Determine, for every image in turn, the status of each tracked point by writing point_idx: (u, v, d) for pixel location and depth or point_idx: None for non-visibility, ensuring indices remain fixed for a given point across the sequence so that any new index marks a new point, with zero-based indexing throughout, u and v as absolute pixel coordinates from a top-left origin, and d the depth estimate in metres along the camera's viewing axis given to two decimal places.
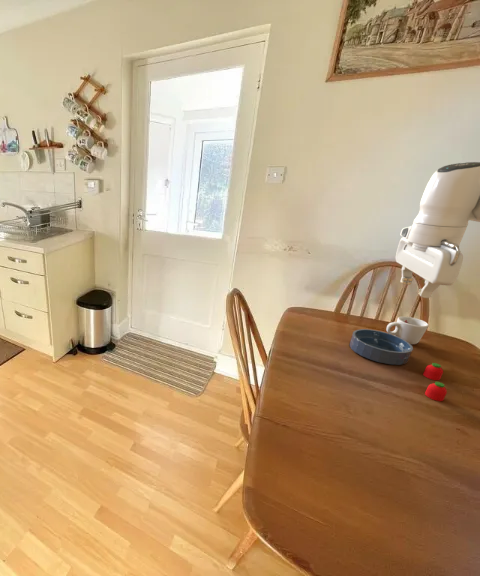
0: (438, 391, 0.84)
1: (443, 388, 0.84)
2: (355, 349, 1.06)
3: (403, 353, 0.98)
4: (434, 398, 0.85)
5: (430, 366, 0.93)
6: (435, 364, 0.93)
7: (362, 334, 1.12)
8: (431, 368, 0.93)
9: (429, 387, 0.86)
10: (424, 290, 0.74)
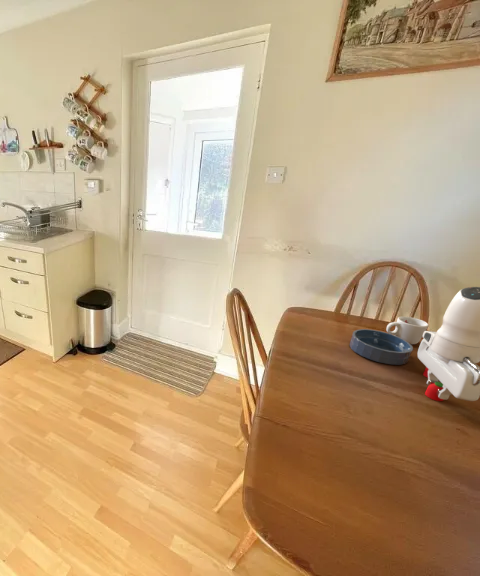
0: None
1: (443, 388, 0.84)
2: (355, 349, 1.06)
3: (403, 353, 0.98)
4: (434, 398, 0.85)
5: None
6: None
7: (362, 334, 1.12)
8: None
9: (429, 387, 0.86)
10: (442, 393, 0.82)
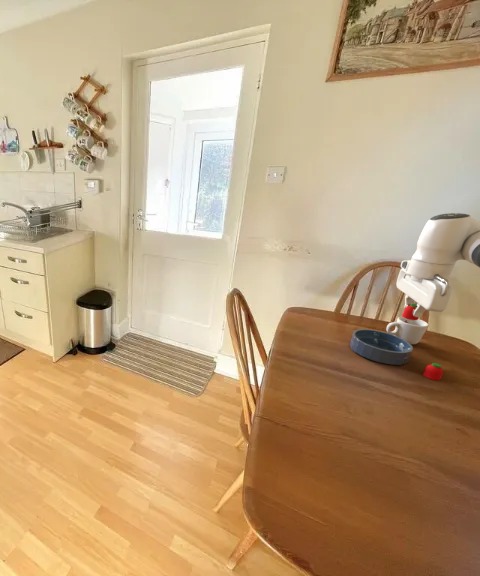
0: None
1: None
2: (355, 349, 1.06)
3: (403, 353, 0.98)
4: (410, 318, 0.95)
5: (430, 366, 0.93)
6: (435, 364, 0.93)
7: (362, 334, 1.12)
8: (431, 368, 0.93)
9: (405, 309, 0.96)
10: (416, 311, 0.93)
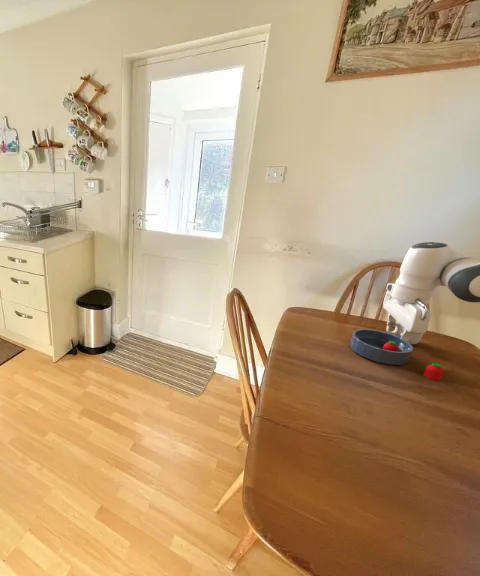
0: (391, 348, 1.03)
1: (395, 345, 1.03)
2: (355, 349, 1.06)
3: (403, 353, 0.98)
4: None
5: (430, 366, 0.93)
6: (435, 364, 0.93)
7: (362, 334, 1.12)
8: (431, 368, 0.93)
9: (384, 345, 1.05)
10: (403, 335, 0.97)
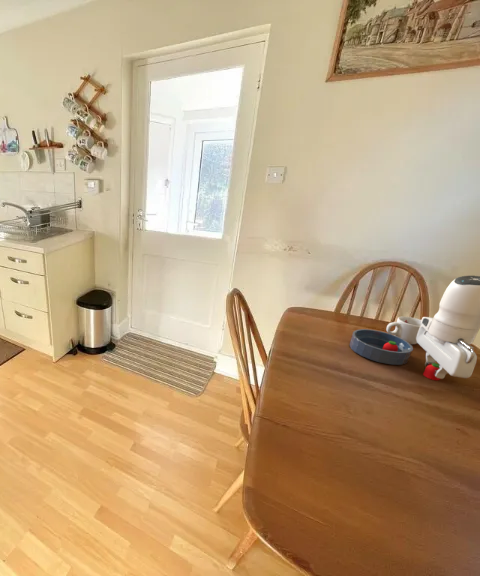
0: (391, 348, 1.03)
1: (395, 345, 1.03)
2: (355, 349, 1.06)
3: (403, 353, 0.98)
4: None
5: (430, 366, 0.93)
6: (435, 364, 0.93)
7: (362, 334, 1.12)
8: (431, 368, 0.93)
9: (384, 345, 1.05)
10: (439, 372, 0.90)
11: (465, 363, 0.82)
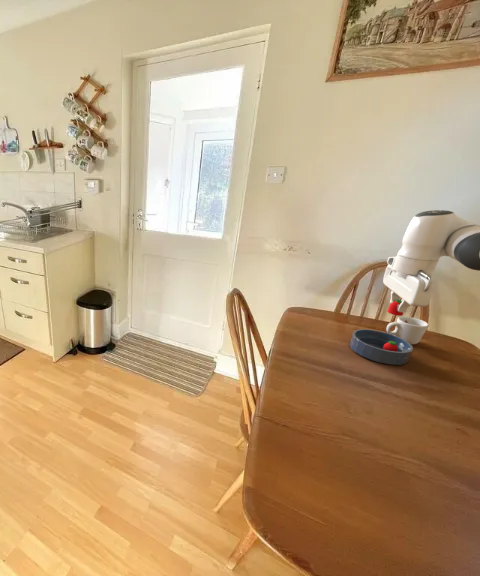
0: (391, 348, 1.03)
1: (395, 345, 1.03)
2: (355, 349, 1.06)
3: (403, 353, 0.98)
4: None
5: (394, 302, 0.97)
6: (398, 300, 0.97)
7: (362, 334, 1.12)
8: (394, 304, 0.97)
9: (384, 345, 1.05)
10: (401, 306, 0.94)
11: (423, 291, 0.86)
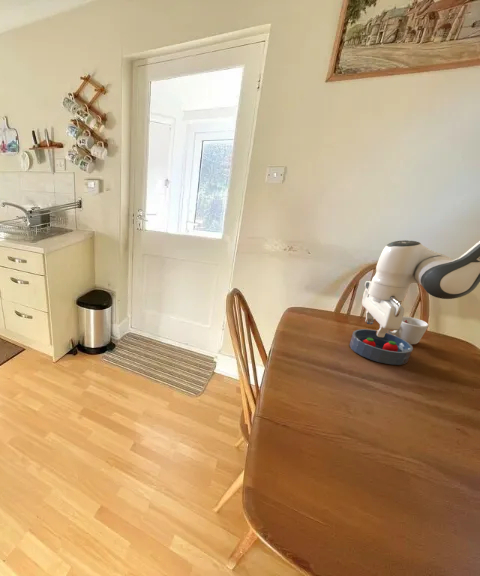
0: (391, 348, 1.03)
1: (395, 345, 1.03)
2: (355, 349, 1.06)
3: (403, 353, 0.98)
4: None
5: (365, 340, 1.06)
6: (369, 338, 1.06)
7: (362, 334, 1.12)
8: (365, 342, 1.06)
9: (384, 345, 1.05)
10: (379, 332, 0.99)
11: (394, 316, 0.93)
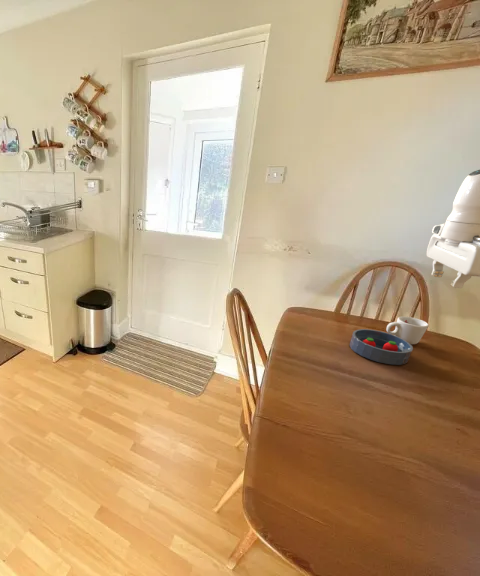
0: (391, 348, 1.03)
1: (395, 345, 1.03)
2: (355, 349, 1.06)
3: (403, 353, 0.98)
4: None
5: (365, 340, 1.06)
6: (369, 338, 1.06)
7: (362, 334, 1.12)
8: (365, 342, 1.06)
9: (384, 345, 1.05)
10: (457, 281, 0.82)
11: None
